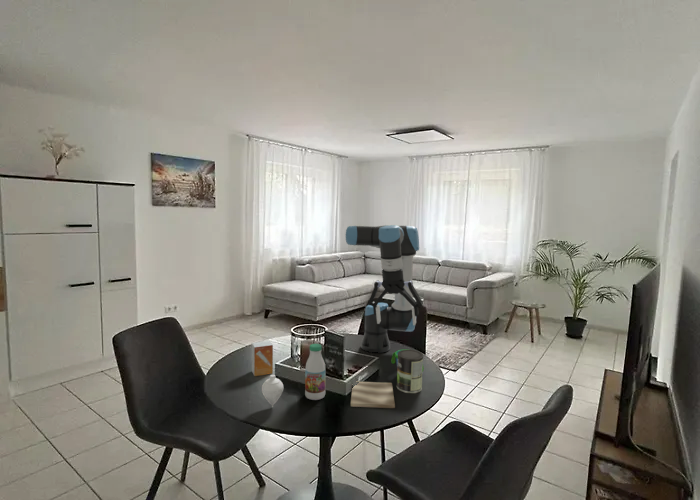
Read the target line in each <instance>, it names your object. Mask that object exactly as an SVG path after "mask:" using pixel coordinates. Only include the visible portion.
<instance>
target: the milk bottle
mask: <svg viewBox="0 0 700 500" xmlns="http://www.w3.org/2000/svg"><path fill="white" fill-rule="evenodd" d="M322 349H323V348H322V344H320V343H312V344H310V345H309V356H308V358H307V360H306V363H305V370H304V371H305V374H304V375H305V376H304V385H305V386H304V389H305V390H304V395H305V398H306V399H309V400H312V401H318V400H321V399H323V398H325V395H326V364H325V360H324V358H323V355H322Z"/></svg>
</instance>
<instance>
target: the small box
mask: <svg viewBox="0 0 700 500" xmlns="http://www.w3.org/2000/svg"><path fill="white" fill-rule="evenodd" d="M273 345H274V344H273V343H272V342H271V340H263V341H256V342H251V372H252V374H253V376H254V377H258V376H265V375H274V374H273V372H274V370H273V369H274V367H273V366H274V364H273V362H274V361H273V360H274V353H273V352H274V348H273V347H274V346H273Z"/></svg>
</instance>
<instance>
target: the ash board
mask: <svg viewBox="0 0 700 500" xmlns="http://www.w3.org/2000/svg"><path fill="white" fill-rule="evenodd" d="M358 382H359V383H358V384H357V385H355V386H354V387H353V388H352V387H351V389H352V390H351V397H350V407H354V408H355V407H356V408H358V407H359V408H360V407H361V408H381V409H382V408H383V409H395V408H396V403H395V397H394V389H393V388H394V387H393V383H392V382H378V381H377V382H375V381H358Z"/></svg>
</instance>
